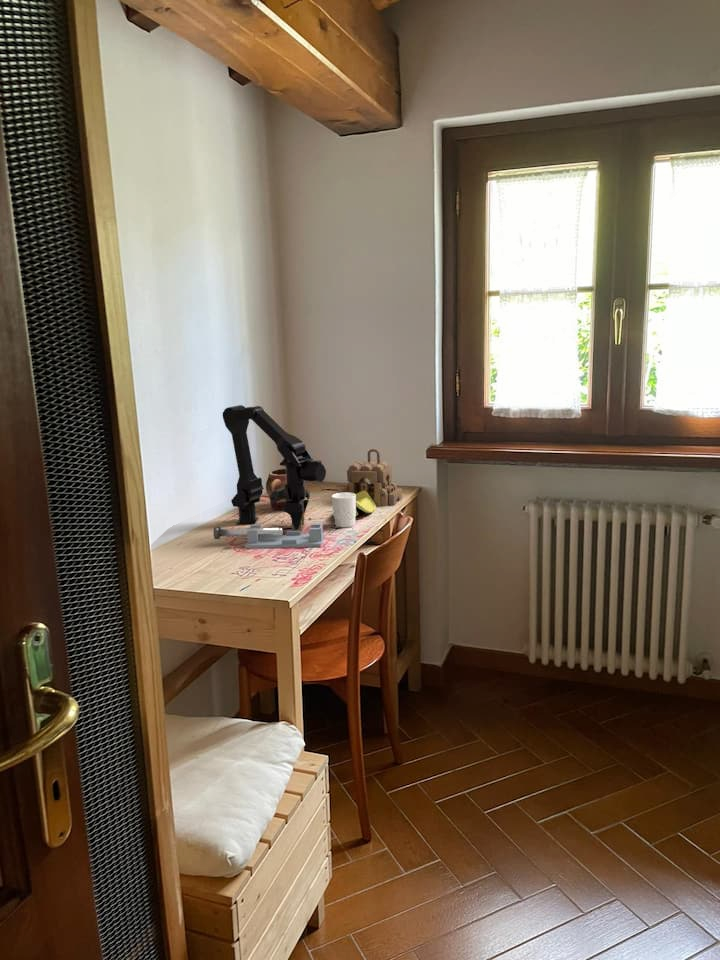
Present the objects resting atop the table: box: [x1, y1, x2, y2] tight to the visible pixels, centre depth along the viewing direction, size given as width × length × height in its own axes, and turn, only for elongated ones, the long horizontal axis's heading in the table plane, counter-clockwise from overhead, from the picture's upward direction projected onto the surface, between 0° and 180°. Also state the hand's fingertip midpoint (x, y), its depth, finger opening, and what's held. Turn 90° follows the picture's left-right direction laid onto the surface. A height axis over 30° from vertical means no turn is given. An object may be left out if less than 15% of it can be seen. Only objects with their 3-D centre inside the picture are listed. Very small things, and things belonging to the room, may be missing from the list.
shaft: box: [213, 525, 284, 540], centre depth 225 cm, size 4×21×4 cm, turn 86°
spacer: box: [291, 512, 305, 533], centre depth 238 cm, size 7×3×6 cm, turn 176°
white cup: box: [331, 492, 357, 528], centre depth 241 cm, size 8×8×10 cm
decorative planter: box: [265, 467, 289, 511], centre depth 263 cm, size 20×12×14 cm, turn 168°
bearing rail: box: [244, 522, 325, 549], centre depth 225 cm, size 10×23×5 cm, turn 86°
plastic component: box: [355, 491, 377, 517], centre depth 254 cm, size 20×7×10 cm
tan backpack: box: [336, 448, 403, 507], centre depth 269 cm, size 22×15×19 cm, turn 69°
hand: (298, 525), depth 239 cm, fingers open, 7 cm apart
